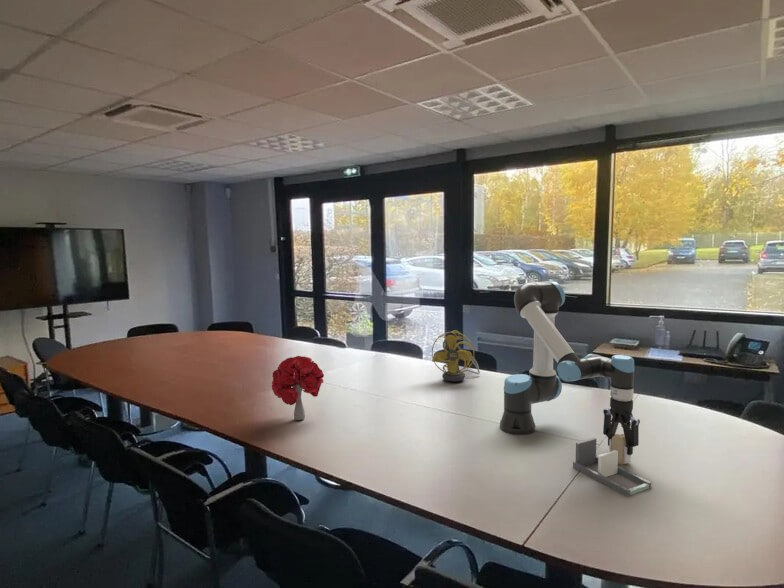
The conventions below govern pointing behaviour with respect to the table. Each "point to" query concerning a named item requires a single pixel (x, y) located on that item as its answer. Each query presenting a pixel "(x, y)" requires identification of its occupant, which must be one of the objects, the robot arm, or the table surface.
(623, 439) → the candle
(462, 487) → the table surface
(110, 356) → the table surface
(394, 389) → the table surface
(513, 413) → the robot arm
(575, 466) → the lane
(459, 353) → the electric fan
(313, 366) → the bouquet
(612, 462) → the plate
